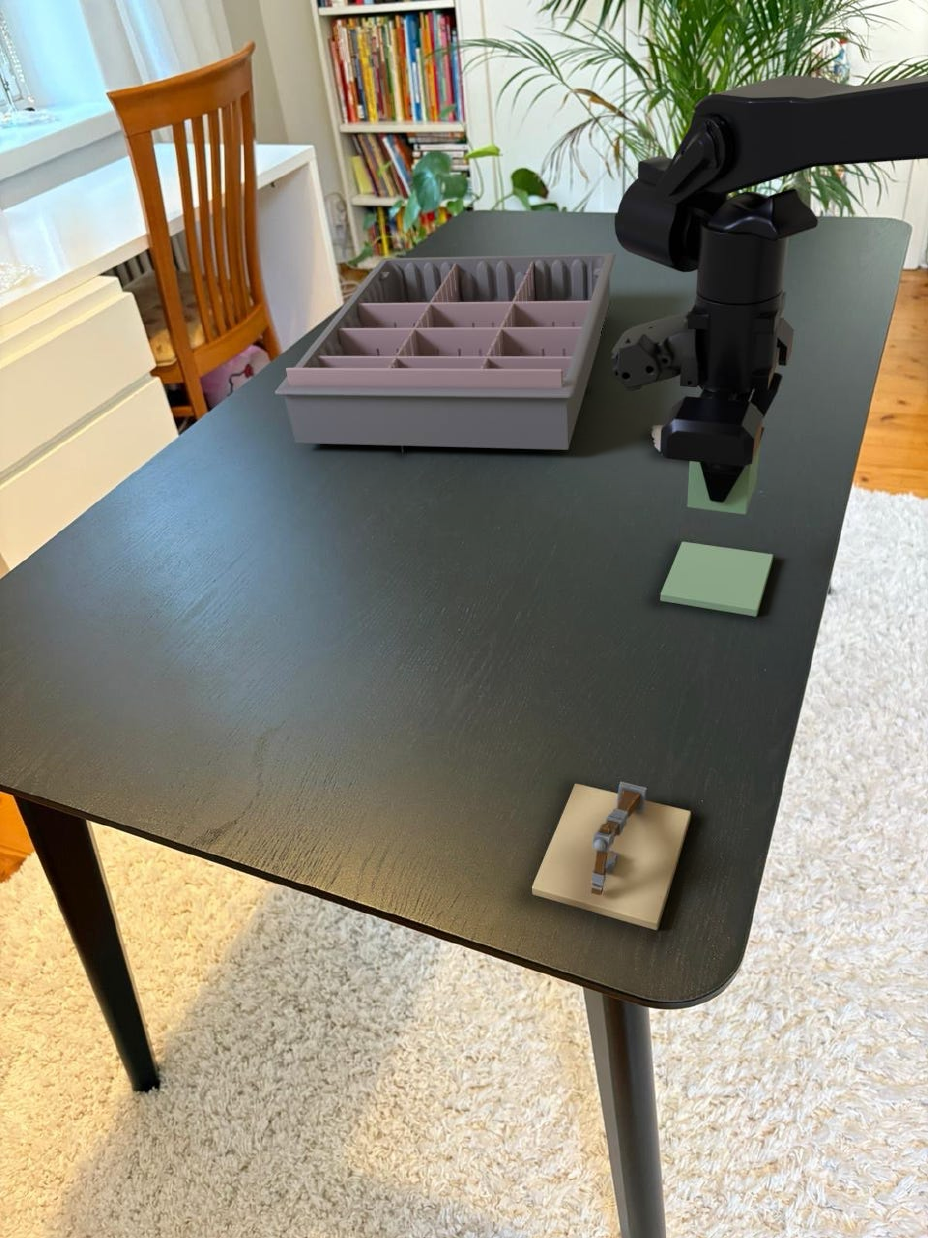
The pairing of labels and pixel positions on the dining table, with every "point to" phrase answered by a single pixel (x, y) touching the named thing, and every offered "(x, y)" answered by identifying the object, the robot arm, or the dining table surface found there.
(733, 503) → the sage block
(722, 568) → the sage pad
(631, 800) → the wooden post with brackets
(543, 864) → the birch pad
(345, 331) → the organizer tray
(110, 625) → the dining table surface
